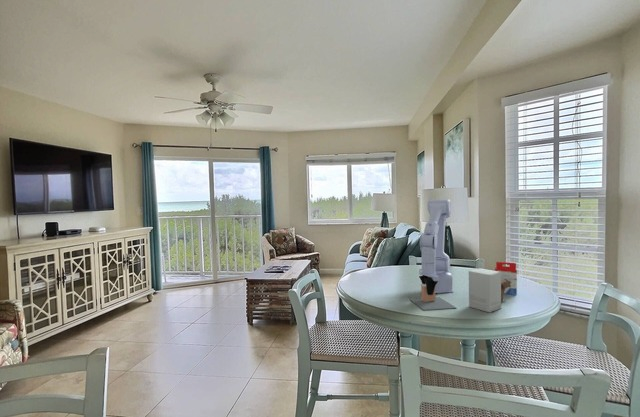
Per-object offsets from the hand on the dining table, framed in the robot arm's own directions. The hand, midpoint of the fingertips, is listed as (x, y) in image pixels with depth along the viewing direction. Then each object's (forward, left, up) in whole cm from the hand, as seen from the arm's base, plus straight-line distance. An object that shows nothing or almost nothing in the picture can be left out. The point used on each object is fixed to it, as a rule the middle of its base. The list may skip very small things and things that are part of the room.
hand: (428, 293), depth 137 cm
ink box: (-41, -7, -4) cm, 42 cm away
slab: (0, 0, -3) cm, 3 cm away
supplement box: (-19, +10, -4) cm, 22 cm away
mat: (0, +3, -3) cm, 5 cm away
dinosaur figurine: (-29, +3, -4) cm, 29 cm away
